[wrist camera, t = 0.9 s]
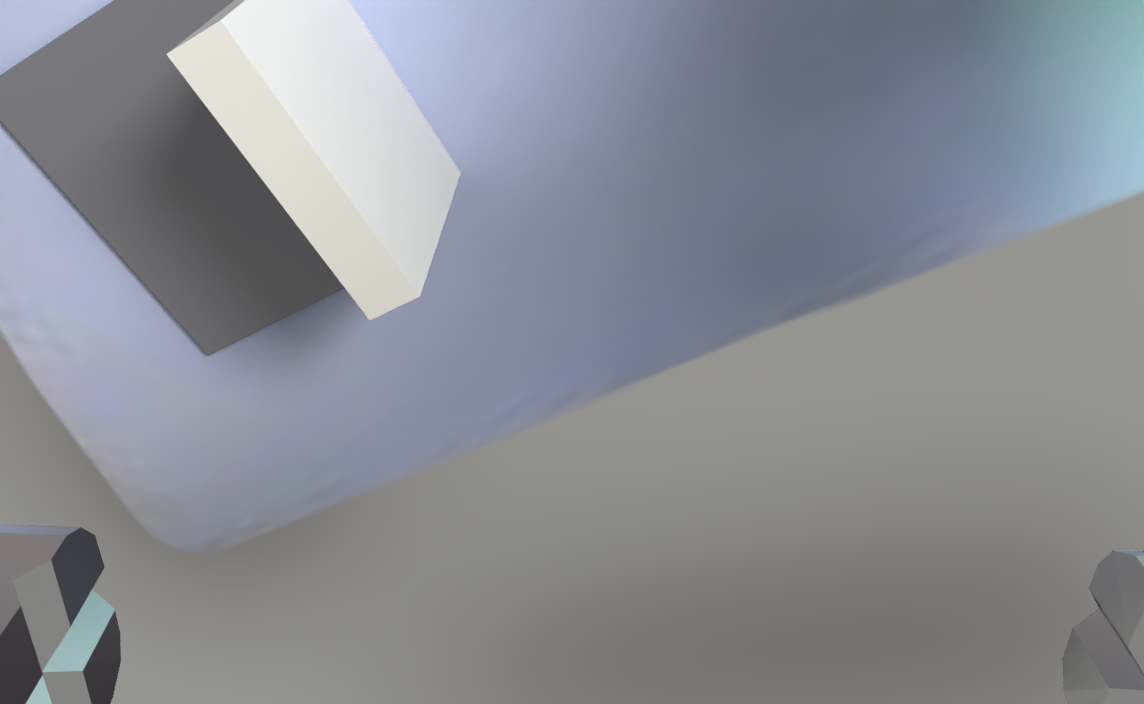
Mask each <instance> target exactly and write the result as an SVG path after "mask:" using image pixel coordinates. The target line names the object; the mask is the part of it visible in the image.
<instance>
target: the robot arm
mask: <svg viewBox="0 0 1144 704" xmlns="http://www.w3.org/2000/svg"><path fill="white" fill-rule="evenodd" d="M103 569H104V564H103V561H102V557H101V554H100V551H99V547H98V544H97V540H96V537H95V535H94V534H92V533H90V532H88V531H87V530H85V529H83V528H81V527H58V526H36V525H13V524H12V525H11V524H0V704H110V703H111V700H112V698H113V695H114V690H115V685H116V681H117V676H118V672H119V667H120V663H121V651H120V650H121V648H120V647H121V646H120V630H119V625H118V621H117V617H116V613H115V609H113V608H112V607H111V606H110V605H109V604H108V603H107V602H105V601H104V600H103V599H102V598H101V597H100V596H99V595H97V594H96V593H95V592H94V591H93V590H92V588H93V587H94V585H95V583H96V581H97V580H98V578H99V576H100V575H101V573H102V571H103ZM1089 590H1090V592H1091V593H1092V596H1093V598H1094V600H1095V601H1096V603H1097V605H1098V607H1099V608H1098V609H1097V610H1096V611H1095V612H1093V613H1092V614H1090V615H1089V616H1088V617H1087V618H1085V619H1084V620H1083V621H1081V622H1080V623H1079V624H1077V625H1076V626H1075V627H1074V628H1073V629H1072V632H1071V635H1070V638H1069V640H1068V643H1067V647H1066V650H1065V652H1064V655H1063V659H1062V660H1063V687H1064V694H1065V697H1066V700H1067V704H1144V551H1112V552H1111V553H1110V554H1109V555H1108V556H1106V557H1105V558H1104V559H1103V560H1102V561H1101V562H1100V563H1099V564H1098V566H1097V569H1096V571H1095V573H1094V576H1093V579H1092V581H1091V583H1090V585H1089Z"/></svg>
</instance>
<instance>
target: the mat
mask: <svg viewBox="0 0 1144 704" xmlns="http://www.w3.org/2000/svg"><path fill="white" fill-rule="evenodd" d="M233 1H234V0H114V1H112V2H111V3H109V4H108V5H106V6H105V7H103V8H102V9H100V10H99V11H97V12H96V13H94V14H93V15H91V16H90V17H88V18H87V19H85V20H84V21H82V22H81V23H79V24H78V25H76V26H74V27H73V28H71V29H70V30H68V31H67V32H65V33H64V34H62V35H61V36H59V37H58V38H56V39H55V40H53V41H52V42H50V43H49V44H47V45H46V46H44V47H43V48H41V49H40V50H38V51H37V52H35V53H34V54H32V55H31V56H29V57H27V58H26V59H24V60H23V61H21V62H20V63H18V64H17V65H15V66H14V67H12V68H11V69H9V70H8V71H6V72H5V73H3V74H2V75H0V121H1V122H2V123H3V124H4V126H5V127H6V128H7V129H8V130H9V131H10V132H11V134H12V135H13V136H14V137H15V138H16V139H17V140H18V141H19V143H20V144H21V145H22V146H23V147H24V148H25V149H26V150H27V152H28V153H29V154H30V155H31V156H32V157H33V158H34V160H35V161H36V162H37V163H38V164H39V165H40V166H41V167H42V169H43V170H44V171H45V172H46V173H47V174H48V175H49V176H50V178H51V179H52V180H53V181H54V182H55V183H56V184H57V185H58V187H59V188H60V189H61V190H62V191H63V192H64V193H65V195H66V196H67V197H68V198H69V199H70V200H71V201H72V202H73V204H74V205H75V206H76V207H77V208H78V209H79V210H80V211H81V213H82V214H83V215H84V216H85V217H86V218H87V219H88V221H89V222H90V223H91V224H92V225H93V226H94V227H95V228H96V230H97V231H98V232H99V233H100V234H101V235H102V236H103V237H104V239H105V240H106V241H107V242H108V243H109V244H110V245H111V247H112V248H113V249H114V250H115V251H116V252H117V253H118V254H119V256H120V257H121V258H122V259H123V260H124V261H125V262H126V263H127V265H128V266H129V267H130V268H131V269H132V270H133V271H134V272H135V274H136V275H137V276H138V277H139V278H140V279H141V280H142V282H143V283H144V284H145V285H146V286H147V287H148V288H149V289H150V291H151V292H152V293H153V294H154V295H155V296H156V297H157V298H158V300H159V301H160V302H161V303H162V304H163V305H164V306H165V308H166V309H167V310H168V311H169V312H170V313H171V314H172V315H173V317H174V318H175V319H176V320H177V321H178V322H179V323H180V324H181V326H182V327H183V328H184V329H185V330H186V331H187V332H188V334H189V335H190V336H191V337H192V338H193V339H194V340H195V341H196V343H197V344H198V345H199V346H200V347H201V348H202V349H203V350H204V352H205V353H206V354H207V355H210V354H212V353H214V352H216V351H218V350H220V349H222V348H224V347H226V346H228V345H230V344H232V343H234V342H236V341H238V340H240V339H242V338H244V337H246V336H248V335H250V334H252V333H254V332H256V331H258V330H260V329H262V328H264V327H266V326H268V325H270V324H272V323H274V322H276V321H278V320H280V319H282V318H284V317H286V316H288V315H290V314H292V313H294V312H296V311H298V310H300V309H302V308H304V307H306V306H308V305H310V304H312V303H314V302H316V301H318V300H320V299H322V298H324V297H326V296H328V295H330V294H332V293H334V292H336V291H338V290H340V289H342V288H344V286H343V285H342V284H341V282H340V281H339V280H338V278H337V277H336V276H335V274H334V273H333V272H332V270H331V269H330V268H329V267H328V265H327V264H326V263H325V261H324V260H323V259H322V257H321V256H320V255H319V253H318V252H317V251H316V250H315V248H314V247H313V246H312V244H311V243H310V242H309V240H308V239H307V238H306V236H305V235H304V234H303V233H302V231H301V230H300V229H299V227H298V226H297V225H296V223H295V222H294V221H293V219H292V218H291V217H290V216H289V214H288V213H287V212H286V210H285V209H284V208H283V206H282V205H281V204H280V202H279V201H278V200H277V198H276V197H275V196H274V195H273V193H272V192H271V191H270V189H269V188H268V187H267V185H266V184H265V183H264V181H263V180H262V179H261V178H260V176H259V175H258V174H257V172H256V171H255V170H254V168H253V167H252V166H251V164H250V163H249V162H248V161H247V159H246V158H245V157H244V155H243V154H242V153H241V151H240V150H239V149H238V147H237V146H236V145H235V144H234V142H233V141H232V140H231V138H230V137H229V136H228V134H227V133H226V132H225V130H224V129H223V128H222V127H221V125H220V124H219V123H218V121H217V120H216V119H215V117H214V116H213V115H212V113H211V112H210V111H209V109H208V108H207V107H206V106H205V104H204V103H203V102H202V100H201V99H200V98H199V96H198V95H197V94H196V92H195V91H194V90H193V89H192V87H191V86H190V85H189V83H188V82H187V81H186V79H185V78H184V77H183V75H182V74H181V73H180V72H179V70H178V69H177V68H176V66H175V65H174V64H173V62H172V61H171V60H170V58H169V57H168V56H167V55H166V54H167V53H168V52H170V51H171V50H172V49H173V48H175V47H176V46H177V45H179V44H180V43H181V42H182V41H184V40H185V39H186V38H187V37H189V36H190V35H191V34H192V33H194V32H195V31H196V30H198V29H199V28H200V27H201V26H203V25H204V24H205V23H206V22H208V21H209V20H210V19H211V18H213V17H214V16H215V15H216V14H218V13H219V12H220V11H222V10H223V9H224V8H225V7H227V6H228V5H229V4H230V3H232V2H233Z"/></svg>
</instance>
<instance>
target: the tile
mask: <svg viewBox="0 0 1144 704" xmlns="http://www.w3.org/2000/svg"><path fill="white" fill-rule="evenodd" d="M166 55H167V56H168V57H169V58H170V60H171V61H172V62H173V64H174V65H175V66H176V68H177V69H178V70H179V72H180V73H181V74H182V75H183V77H184V78H185V79H186V81H187V82H188V83H189V85H190V86H191V87H192V89H193V90H194V91H195V92H196V94H197V95H198V96H199V98H200V99H201V100H202V102H203V103H204V104H205V106H206V107H207V108H208V109H209V111H210V112H211V113H212V115H213V116H214V117H215V119H216V120H217V121H218V123H219V124H220V125H221V127H222V128H223V129H224V130H225V132H226V133H227V134H228V136H229V137H230V138H231V140H232V141H233V142H234V144H235V145H236V146H237V147H238V149H239V150H240V151H241V153H242V154H243V155H244V157H245V158H246V159H247V161H248V162H249V163H250V164H251V166H252V167H253V168H254V170H255V171H256V172H257V174H258V175H259V176H260V178H261V179H262V180H263V181H264V183H265V184H266V185H267V187H268V188H269V189H270V191H271V192H272V193H273V195H274V196H275V197H276V198H277V200H278V201H279V202H280V204H281V205H282V206H283V208H284V209H285V210H286V212H287V213H288V214H289V216H290V217H291V218H292V219H293V221H294V222H295V223H296V225H297V226H298V227H299V229H300V230H301V231H302V233H303V234H304V235H305V236H306V238H307V239H308V240H309V242H310V243H311V244H312V246H313V247H314V248H315V250H316V251H317V252H318V253H319V255H320V256H321V257H322V259H323V260H324V261H325V263H326V264H327V265H328V267H329V268H330V269H331V270H332V272H333V273H334V274H335V276H336V277H337V278H338V280H339V281H340V282H341V284H342V285H343V286H344V288H345V289H346V290H347V291H348V293H349V294H350V295H351V297H352V298H353V299H354V301H355V302H356V303H357V305H358V306H359V307H360V308H361V310H362V311H363V312H364V314H365V315H366V316H367V318H368V319H369V320H372V319H374V318H376V317H379V316H381V315H383V314H385V313H387V312H389V311H391V310H393V309H395V308H397V307H399V306H401V305H403V304H406V303H408V302H410V301H412V300H414V299H416V298H418V297H420V295H421V292H422V289H423V286H424V283H425V280H426V277H427V274H428V271H429V268H430V265H431V262H432V259H433V256H434V253H435V250H436V247H437V244H438V241H439V238H440V235H441V232H442V229H443V226H444V223H445V220H446V217H447V214H448V211H449V208H450V205H451V202H452V199H453V196H454V193H455V189H456V186H457V183H458V180H459V177H460V174H461V173H460V171H459V170H458V168H457V166H456V165H455V163H454V162H453V160H452V159H451V157H450V156H449V154H448V153H447V151H446V149H445V148H444V146H443V145H442V143H441V142H440V140H439V139H438V137H437V136H436V134H435V132H434V131H433V129H432V128H431V126H430V125H429V123H428V122H427V120H426V119H425V117H424V115H423V114H422V112H421V111H420V109H419V108H418V106H417V105H416V103H415V102H414V100H413V98H412V97H411V95H410V94H409V92H408V91H407V89H406V88H405V86H404V85H403V83H402V81H401V80H400V78H399V77H398V75H397V74H396V72H395V71H394V69H393V68H392V66H391V64H390V63H389V61H388V60H387V58H386V57H385V55H384V54H383V52H382V51H381V49H380V47H379V46H378V44H377V43H376V41H375V40H374V38H373V37H372V35H371V34H370V32H369V30H368V29H367V27H366V26H365V24H364V23H363V21H362V20H361V18H360V17H359V15H358V13H357V12H356V10H355V9H354V7H353V6H352V4H351V3H350V1H349V0H234V1H233V2H232V3H230V4H229V5H228V6H227V7H225V8H224V9H223V10H222V11H220V12H219V13H218V14H216V15H215V16H214V17H213V18H211V19H210V20H209V21H208V22H206V23H205V24H204V25H203V26H201V27H200V28H199V29H198V30H196V31H195V32H194V33H192V34H191V35H190V36H189V37H187V38H186V39H185V40H184V41H182V42H181V43H180V44H179V45H177V46H176V47H175V48H173V49H172V50H171V51H170V52H168V53H167V54H166Z"/></svg>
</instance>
